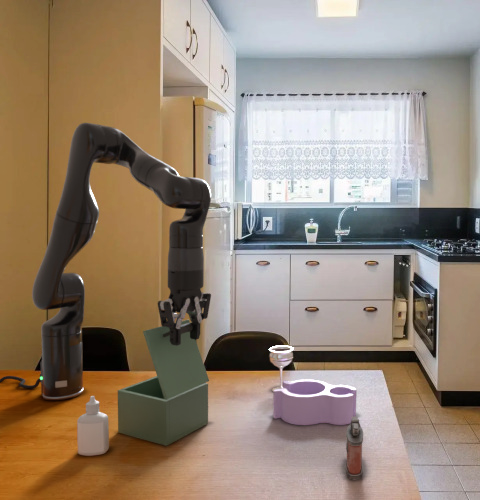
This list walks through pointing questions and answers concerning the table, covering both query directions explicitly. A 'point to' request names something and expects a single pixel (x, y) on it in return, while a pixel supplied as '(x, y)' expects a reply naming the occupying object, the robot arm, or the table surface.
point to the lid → (176, 360)
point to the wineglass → (280, 358)
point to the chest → (161, 412)
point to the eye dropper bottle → (92, 430)
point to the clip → (314, 403)
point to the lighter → (354, 449)
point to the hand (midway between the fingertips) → (185, 341)
